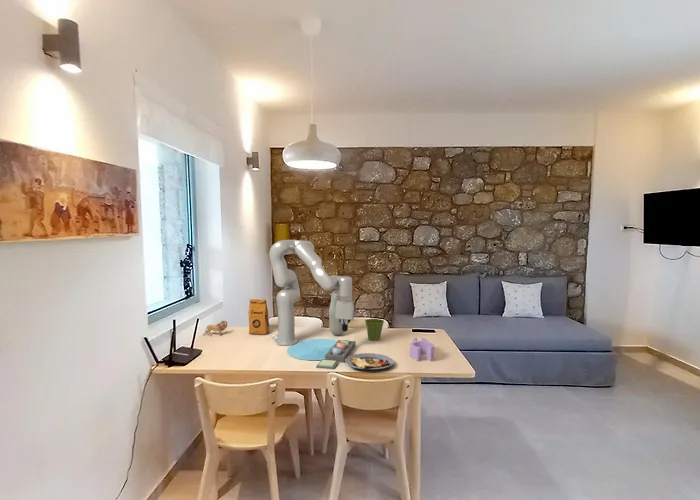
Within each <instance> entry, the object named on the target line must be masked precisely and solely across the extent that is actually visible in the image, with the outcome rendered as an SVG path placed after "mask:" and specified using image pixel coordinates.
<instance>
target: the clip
mask: <svg viewBox="0 0 700 500" xmlns="http://www.w3.org/2000/svg"><path fill="white" fill-rule="evenodd" d="M411 340H412V341H411V342H410V348H409V349H410V351H409V353H410V355H409V357H410V358H411V359H412V358H413V359H412V360H414V359H416V360H415V361H416V362H417V361H419V360H420V361H421V357H422V356H421V355H425V354H427V355H426V361H427V360H429V361H428V362H430V361H432V362H433V360H434V359H435V343H433V342H430V341H429V339H427V338H425V337H421V339H420V340H418V338H417V337H413V338H412V339H411ZM433 358H434V359H433ZM432 359H433V360H432ZM420 361H419V362H420Z"/></svg>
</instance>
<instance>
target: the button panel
mask: <svg viewBox="0 0 700 500" xmlns="http://www.w3.org/2000/svg"><path fill="white" fill-rule="evenodd" d="M341 340H342V339H339V340H337V341H336V342H335V343H334V345H332V347H331V348H330V349H329V350H328V351H327V352H326V354H325V355H324V356H325V357H324V360H332V361H339V363H346V362H345V358H347V357H349V356H351V353H352V352H353V351H354V349H355V348H356V346H357V345H356V341H355V340H349V345H346V350H342V355H333V354H332V348H333V347H337V343H338V342H341Z"/></svg>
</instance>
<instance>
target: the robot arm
mask: <svg viewBox="0 0 700 500" xmlns="http://www.w3.org/2000/svg"><path fill="white" fill-rule="evenodd" d="M292 254H293V255H297V256H298V257H299V258H300V259H301V261H302V262H303V263H304V264H305V265H306V266H307V268H309V270H310V272H311V275H312V277H313V279H314V280H315V281H316V282H317V284H318V285H319V286H320V287H321V288H322V289H324V290H325V291H332V290H333V291H334V290H335V289H338V296H336V299H338V301H337V303H336V311H335V318H336V319H335V320H337V321H339V322H340V323H341V324H342V330H343V332H344V333H346V332H347V331H348V327H349V326H348V325H349V324H350V323H351V322H354V321H355V306H354V301H353V300H352V299H353V292H352V291H353V279H352V277H351V276H346V275H345V276H342V275H335V274H332V275H328V273H327V272H326V271H325V269H324V267H323V265H322V264H323V263H322V261H323V259H322V257H320V256H319V255H318V254H317V253H316V252H315V245H314V243H313V242H311V241H310V240H298V239H284V240H278V241H276V242H275V243H273V244H272V245H271V247H270V249H269V259H270V263H271V269H272V273H273V278H274V283H275V285H276V286H277V287H279V288H284V289H282V290H279V292H277V294H276V298H275V299H276V300H275V301H276V306H277V333H278V334H272V335H271V338H272V339H275V344H276V345H278V346H293V345H295V344H297V343H298V339H297V338H295V335H296V334H295V330H296V329H295V307H294V303H296V302H298V301H299V300H300V297H301V290H300V285H299V281H298V277H297V274H296V272H295V271H294V270H292V269H289V268H288V264H287V261H286V259H285V255H292ZM344 320H346V322H345V323H344Z"/></svg>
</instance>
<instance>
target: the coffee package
mask: <svg viewBox="0 0 700 500" xmlns="http://www.w3.org/2000/svg"><path fill="white" fill-rule="evenodd" d="M269 333H270V320H269V310H268V304H267V299H257V298H256V299H255V298H250V299H249V307H248V334H251V335H260V336H261V335H263V336H264V335H265V336H266V335H267V334H269Z"/></svg>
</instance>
